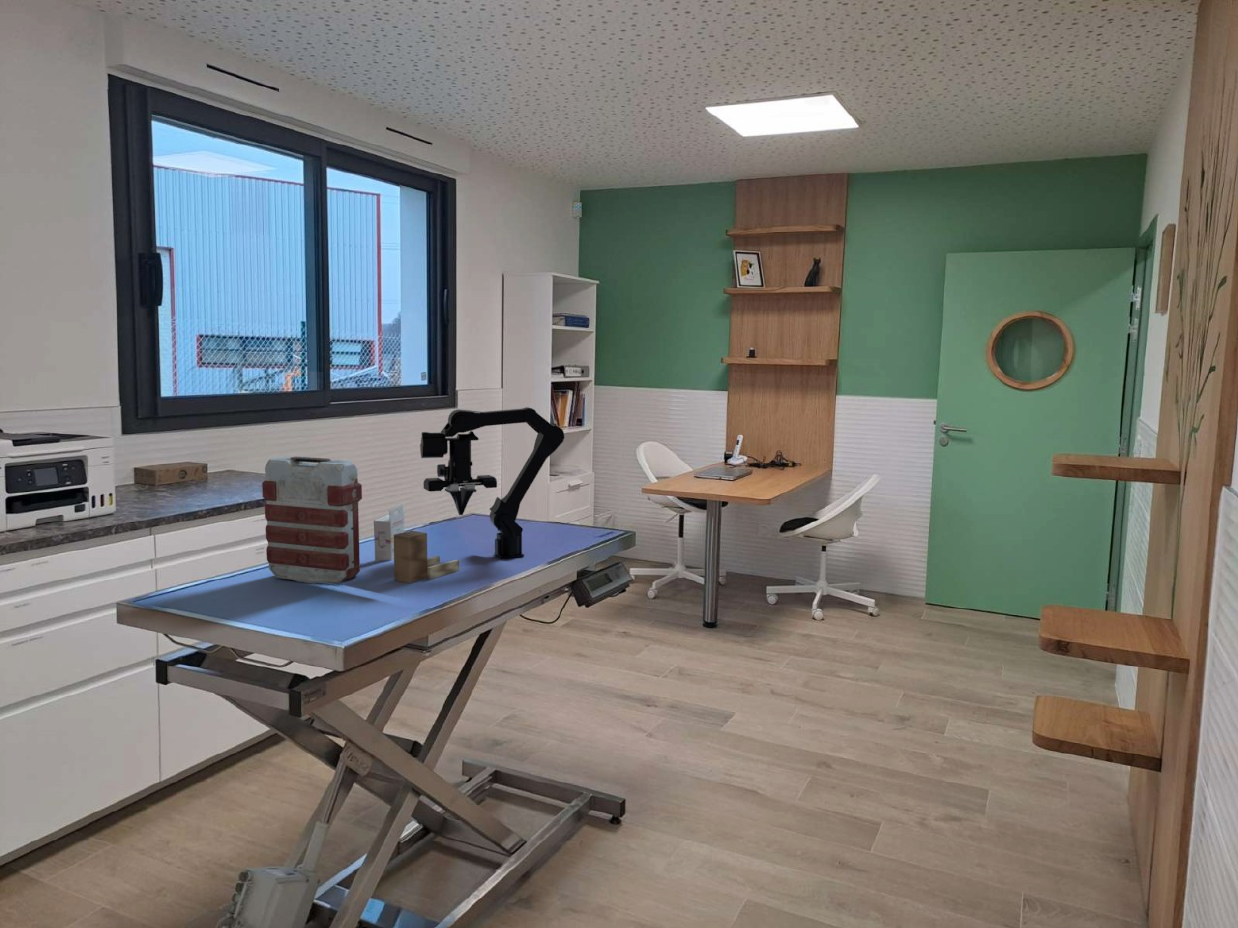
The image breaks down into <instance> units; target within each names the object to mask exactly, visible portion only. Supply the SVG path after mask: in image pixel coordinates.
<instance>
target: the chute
mask: <svg viewBox="0 0 1238 928" xmlns="http://www.w3.org/2000/svg"><path fill="white" fill-rule="evenodd" d="M440 561H441V558H440V556H439V555H435V556H431V557H427V575H428V578H427V579H428V580H432V579H435V578H439V577H443V576H446V575H449V574H453V573H456V572H459V571H460V560H459V559H453V560H450V561H446V562H442V563H441V562H440Z"/></svg>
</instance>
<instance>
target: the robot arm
mask: <svg viewBox="0 0 1238 928" xmlns="http://www.w3.org/2000/svg"><path fill="white" fill-rule="evenodd" d="M521 423H522V424H523V423H526V424H527V425H528V426H529V427H530V428H531V429H532V430H533V431H534V432H535V433H537V434H536V438H535V440H534V445H533V449H532V452H531V453H530V454H529V457H528V458H527V460H526V461H525V463H524V465H523V467H522V469H521V470H520V472H519V474H518V475H517V477H516V478H515V480H514V482H513V483H512V486H511V487H510V489H509V490H508V492H507V494H506V495H505V496H503V497H502V498H500V497H499V496H497V497H496V498H495V501H494V503H493V505H492V506H490V507H489V511H490V513H489V515H488V516H489V520H490V522H491V524H492V525H493V526H494V527H495V528H496V529H497V532H496V538H494V555H496V556H497V557H499V558H500V559H509V558H510V559H513V558H522V557H525V554H524V553H523V534H522V533H523V530H524V529H523V527H522V526H520V525H519V523H517V522H516V519H517V517H518V514H519V510H520V505H521V503H522V500H523V499H524V498H525V496H526V494H527V492H528V491H529V490H530V487H531V485H532V484H533V482H534V480H535V479H536V477H537V476H538V474H539V472H540V471H541V469H542V467H543V465H544V464H545V462H546V460H547V459H548V458H550V456H551V455H552V454H553V453H555V452H556V451H557V450H558V449H559V447H560V446H561V444H562V443H564V440H565V433H564V430H563V429H562V428H561V427H560V426H557V425H554V424H552V423H551V422H548V420H546V419H545V418H544V417H543V416H541V415H540V414H539V413H538V412H537V411H536V410H535V409H534V408H531V407H527V406H525V407H521V408H514V409H499V410H489V411H477V410H468V409H454V410H452V411H451V412H450V413H449V415H448V417H447V423H446V424H445V425H444V426H443V428H442V429H441V430H440V432H428V431H422V432H421V437H420V445H419V448H420V449H419V452H420V457H421V459H437V458H438V459H439V458H440V459H441V458H444V457H445V455H447V454H448V455H449V459H448V462H447V464H448V465H447V466H446V464H445V463H444V464H443V463H442V464H441V463H439V464H437V467H436V470H437V471H436V473H437V474H436V475H437V477H430V478H429V477H428V478H427V477H426V478H425V479H424V481H423V489H424V490H426V492H427V491H428V492H431V493H432V492H442V491H443V489H444V491H445V492H446V493H449V494H450V496H451V497H452V499H453V502H454V505H455V507H456V510H457V511H456V512H457V513H458V516H463V515H464V513H465V511H466V508H467V506H468V503H469V501H470V499H471V498H472V496H473V494H474V493H477V489H476V486H483V487H484V488H485V489H492V488H493V489H495V488H497V487H498V480H497V478H496V477H495V476H493V475H490V474H486V475H485V474H482V475H481V474H480V475H476V478H473V476H472V466H473V461H472V441H479V439H480V438H479V437H478V436H477V435H476V434H475V433H474V430H478V429H481V428H483V427H484V428H485V427H491V426H499V425H510V424H511V425H512V424H513V425H514V424H521ZM467 432H468V433H467ZM455 436H456V437H455ZM448 445H449V446H448ZM448 447H449V449H448ZM448 452H449V453H448ZM442 478H444V480H443V479H442Z"/></svg>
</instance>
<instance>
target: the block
mask: <svg viewBox="0 0 1238 928" xmlns="http://www.w3.org/2000/svg"><path fill="white" fill-rule="evenodd" d="M427 558H428V533H427V532H423V531H422V532H421V531H416V530H409V531H404V533H399V534H395V535H394V559H393V571H394V572H393V573H394V575H393V576H394V577H393V578H394V581H397V582H398V581H399V582H403V583H406V584H407V583H408V584H411V583H414V582H418V581H422V580H425V579H428V575H427Z"/></svg>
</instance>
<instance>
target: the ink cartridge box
mask: <svg viewBox="0 0 1238 928" xmlns="http://www.w3.org/2000/svg"><path fill="white" fill-rule="evenodd" d="M396 511H397V513H396ZM404 532H405V513H404V506H403V504H401V505H397V506H395V507H393V508H391V509H389V510H388V514H387V515H385V516H383V517H380V518H377V519H375V520H373V537H374V539H373V540H374V541H373V542H374V562H375V563H377V562H381V561H394V535H395V534H399V533H404Z"/></svg>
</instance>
